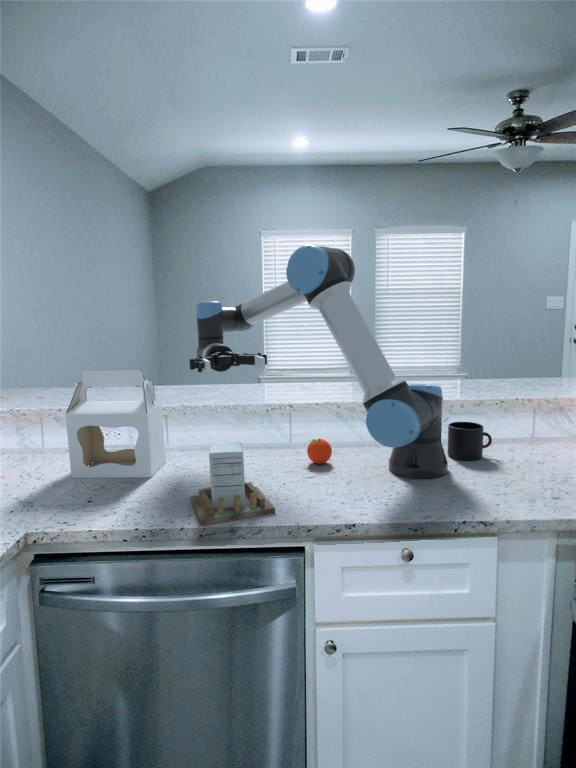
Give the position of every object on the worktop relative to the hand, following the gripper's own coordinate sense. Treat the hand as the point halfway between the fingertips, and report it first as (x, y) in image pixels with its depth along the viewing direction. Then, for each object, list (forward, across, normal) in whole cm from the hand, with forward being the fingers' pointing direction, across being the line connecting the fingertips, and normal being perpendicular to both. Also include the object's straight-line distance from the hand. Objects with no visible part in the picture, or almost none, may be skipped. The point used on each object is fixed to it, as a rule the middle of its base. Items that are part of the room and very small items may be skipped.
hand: (236, 365), depth 123 cm
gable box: (-24, +28, -30) cm, 48 cm away
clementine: (-7, -24, -30) cm, 39 cm away
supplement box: (+14, +6, -29) cm, 33 cm away
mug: (+5, -66, -30) cm, 73 cm away
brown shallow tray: (+14, +6, -30) cm, 34 cm away
